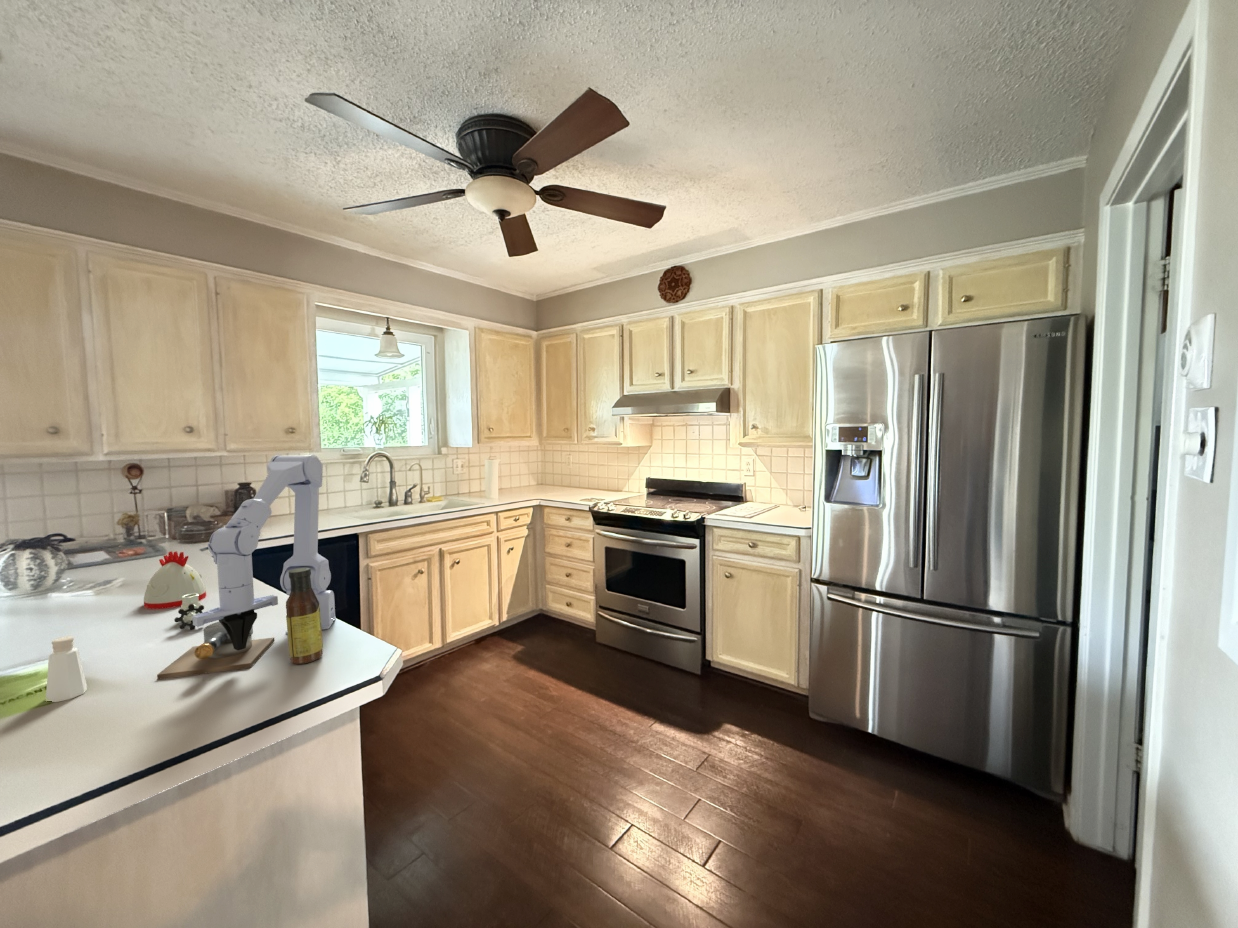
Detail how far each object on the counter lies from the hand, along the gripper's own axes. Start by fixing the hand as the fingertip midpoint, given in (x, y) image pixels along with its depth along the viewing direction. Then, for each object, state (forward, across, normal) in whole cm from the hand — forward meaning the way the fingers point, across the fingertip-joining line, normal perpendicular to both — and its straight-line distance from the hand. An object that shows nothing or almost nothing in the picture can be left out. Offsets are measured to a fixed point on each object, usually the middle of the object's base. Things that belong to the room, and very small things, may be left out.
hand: (239, 648), depth 105 cm
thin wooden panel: (+4, 0, -9) cm, 10 cm away
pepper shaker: (+5, +21, -17) cm, 28 cm away
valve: (+5, -7, -41) cm, 42 cm away
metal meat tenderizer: (+1, 0, -8) cm, 8 cm away
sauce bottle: (+5, -9, +7) cm, 13 cm away
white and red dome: (+5, -12, -68) cm, 69 cm away
